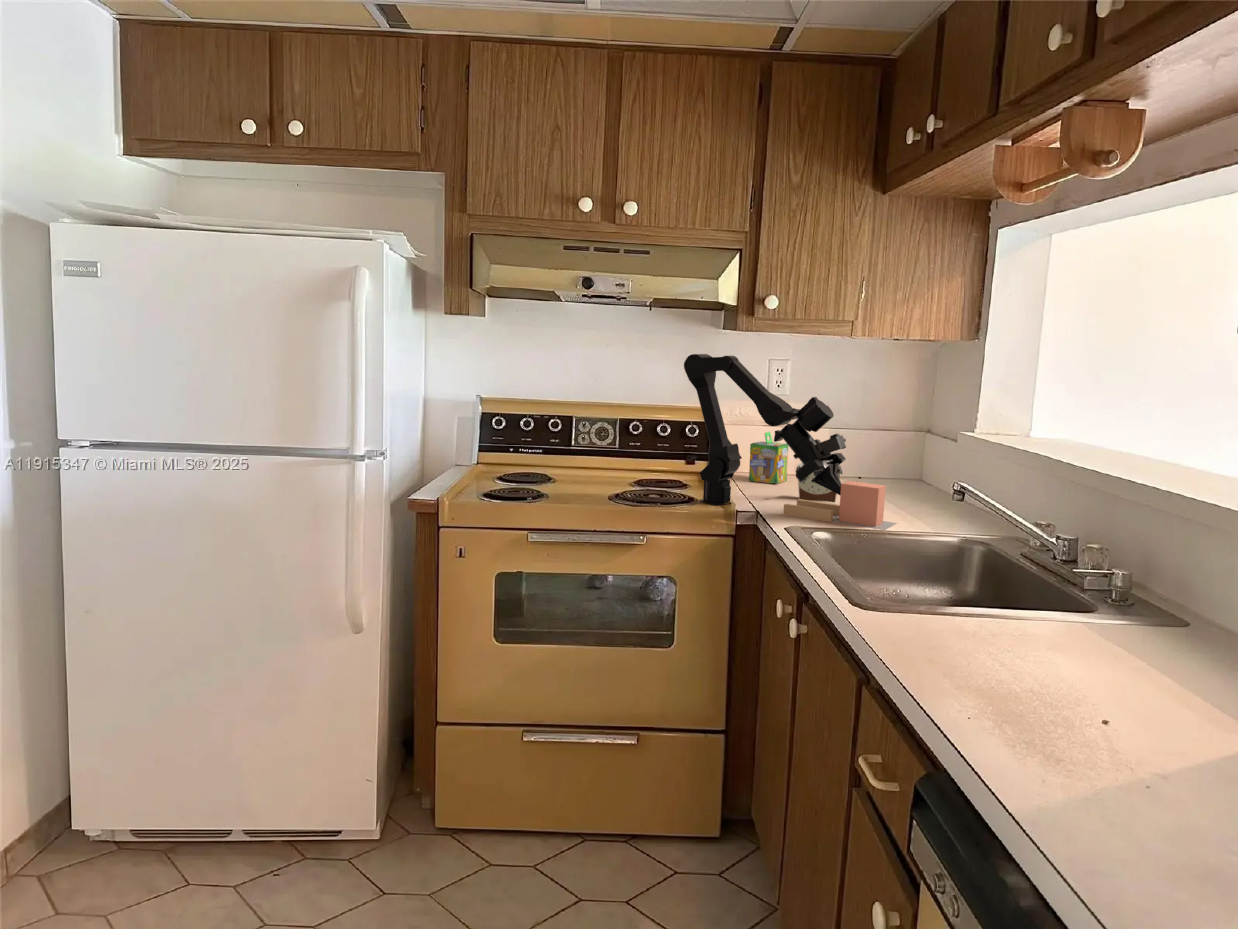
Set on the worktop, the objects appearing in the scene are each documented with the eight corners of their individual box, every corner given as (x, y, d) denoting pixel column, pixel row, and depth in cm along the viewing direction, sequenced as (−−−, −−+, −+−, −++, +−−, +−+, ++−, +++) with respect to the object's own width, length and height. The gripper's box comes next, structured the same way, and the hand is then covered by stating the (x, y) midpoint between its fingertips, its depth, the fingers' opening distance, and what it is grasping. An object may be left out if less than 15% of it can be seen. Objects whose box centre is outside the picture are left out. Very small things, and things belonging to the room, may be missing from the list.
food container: (837, 499, 245) (839, 463, 244) (840, 504, 239) (843, 466, 237) (791, 497, 246) (793, 461, 245) (793, 501, 240) (795, 464, 239)
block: (838, 520, 214) (841, 483, 213) (846, 517, 218) (848, 481, 217) (875, 526, 209) (878, 488, 208) (882, 523, 213) (885, 485, 212)
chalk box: (776, 485, 266) (779, 435, 264) (747, 481, 270) (750, 432, 268) (787, 481, 274) (790, 432, 271) (759, 477, 278) (762, 429, 276)
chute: (779, 516, 220) (780, 504, 220) (794, 510, 228) (795, 498, 228) (884, 532, 206) (885, 519, 206) (897, 525, 214) (898, 512, 213)
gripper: (811, 425, 208) (854, 478, 204) (840, 420, 224) (880, 469, 219) (778, 456, 214) (819, 507, 210) (808, 448, 229) (847, 496, 225)
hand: (843, 494), depth 216 cm, fingers closed, pressing on block
